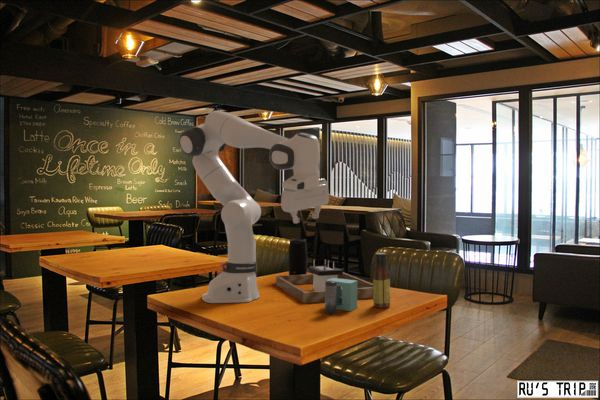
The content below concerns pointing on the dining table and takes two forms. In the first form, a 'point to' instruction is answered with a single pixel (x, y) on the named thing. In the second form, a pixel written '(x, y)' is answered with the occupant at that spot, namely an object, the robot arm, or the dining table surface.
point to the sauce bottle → (381, 282)
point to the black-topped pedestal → (323, 274)
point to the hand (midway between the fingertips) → (306, 220)
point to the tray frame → (319, 296)
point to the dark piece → (331, 297)
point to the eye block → (346, 293)
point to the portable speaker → (298, 257)
